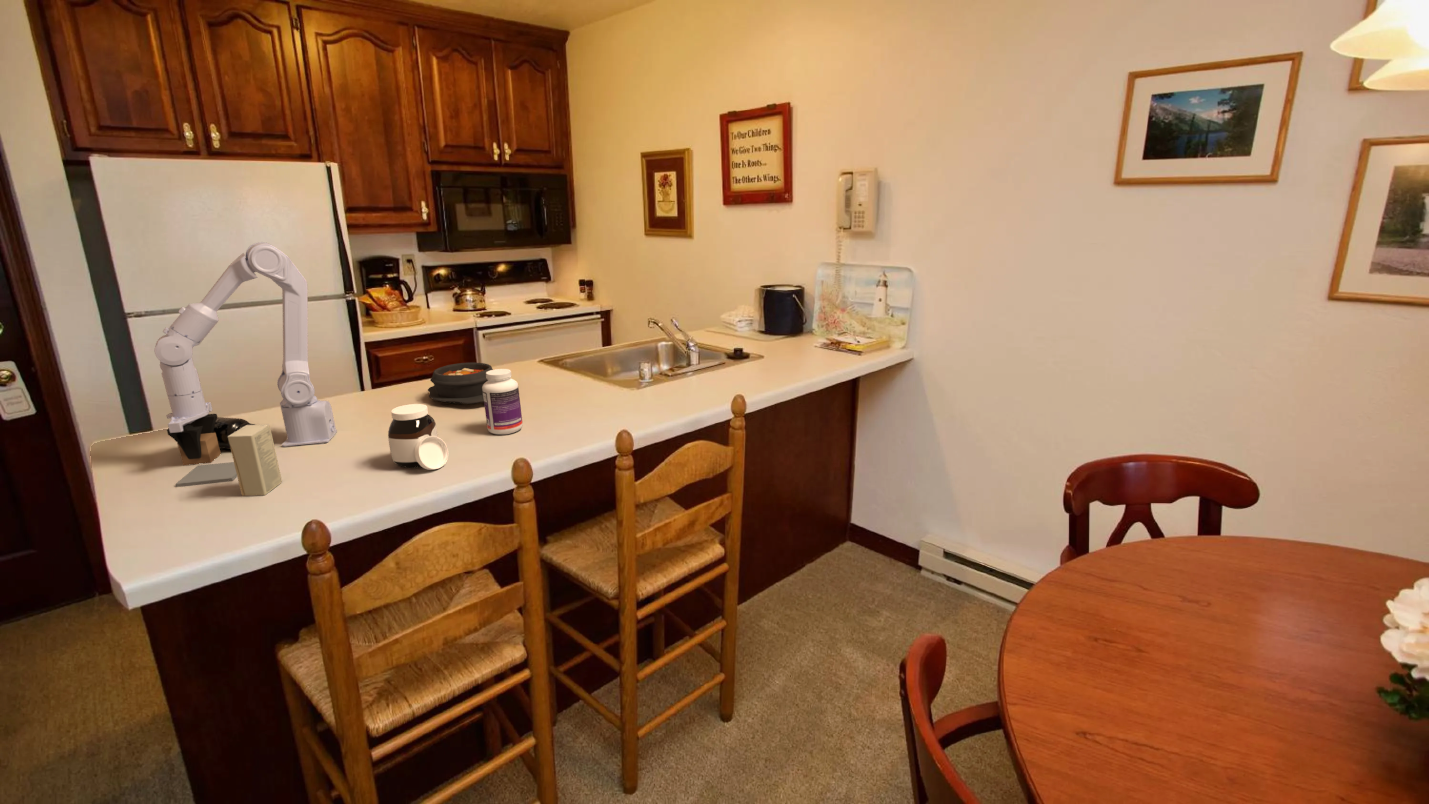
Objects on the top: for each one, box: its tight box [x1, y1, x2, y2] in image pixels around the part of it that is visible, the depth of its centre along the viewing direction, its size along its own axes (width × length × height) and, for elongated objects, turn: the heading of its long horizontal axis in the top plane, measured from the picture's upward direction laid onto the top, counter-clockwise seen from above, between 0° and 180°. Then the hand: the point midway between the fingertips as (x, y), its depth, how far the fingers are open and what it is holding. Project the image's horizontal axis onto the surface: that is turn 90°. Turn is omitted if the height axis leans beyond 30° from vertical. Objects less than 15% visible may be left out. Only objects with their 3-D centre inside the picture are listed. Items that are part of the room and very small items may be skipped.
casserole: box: [427, 362, 494, 405], centre depth 181 cm, size 25×19×8 cm
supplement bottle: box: [213, 416, 256, 450], centre depth 146 cm, size 7×7×12 cm
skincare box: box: [228, 424, 283, 497], centre depth 124 cm, size 6×4×12 cm
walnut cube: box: [176, 433, 222, 466], centre depth 140 cm, size 5×5×5 cm
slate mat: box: [174, 461, 238, 488], centre depth 133 cm, size 10×10×1 cm
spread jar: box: [387, 403, 449, 471], centre depth 136 cm, size 12×11×12 cm
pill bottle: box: [482, 368, 523, 436], centre depth 154 cm, size 8×8×14 cm
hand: (200, 453), depth 140 cm, fingers closed on walnut cube, 5 cm apart
